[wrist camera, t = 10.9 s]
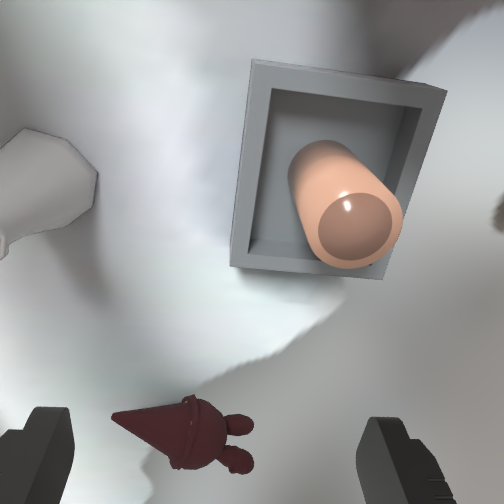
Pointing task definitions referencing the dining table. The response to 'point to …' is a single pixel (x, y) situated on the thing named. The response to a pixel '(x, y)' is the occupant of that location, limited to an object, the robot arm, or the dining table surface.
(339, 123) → the slate tray
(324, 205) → the terracotta cup
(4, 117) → the dining table surface
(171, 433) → the icecream
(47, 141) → the flask
